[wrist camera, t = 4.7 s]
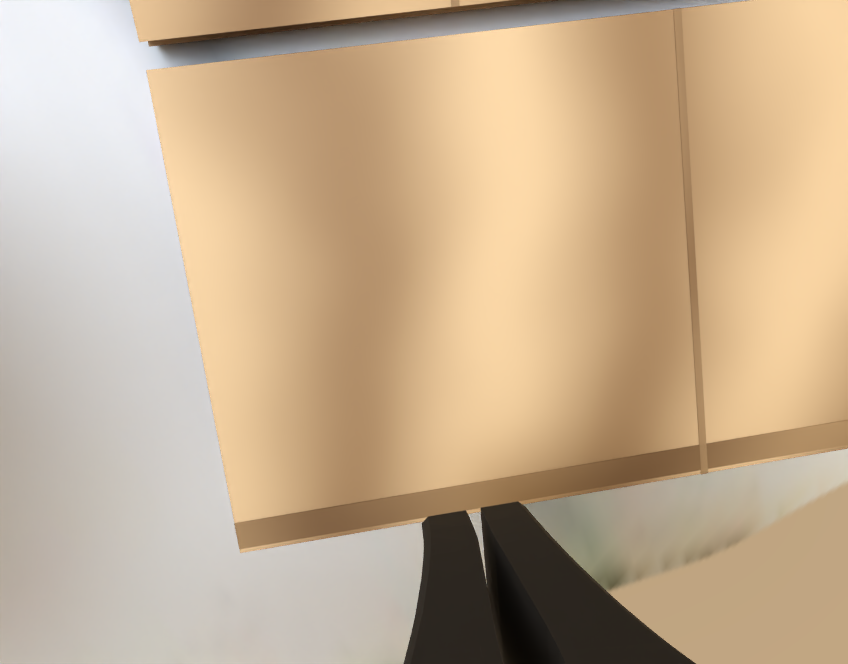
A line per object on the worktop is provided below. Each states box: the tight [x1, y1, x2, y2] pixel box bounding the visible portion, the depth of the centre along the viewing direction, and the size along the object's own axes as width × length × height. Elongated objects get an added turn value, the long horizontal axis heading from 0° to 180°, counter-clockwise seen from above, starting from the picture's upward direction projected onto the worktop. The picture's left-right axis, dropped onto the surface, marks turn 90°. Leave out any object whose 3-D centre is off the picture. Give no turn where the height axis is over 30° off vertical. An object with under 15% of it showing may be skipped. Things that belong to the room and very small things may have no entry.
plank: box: [146, 0, 848, 553], centre depth 16 cm, size 18×10×1 cm, turn 96°
